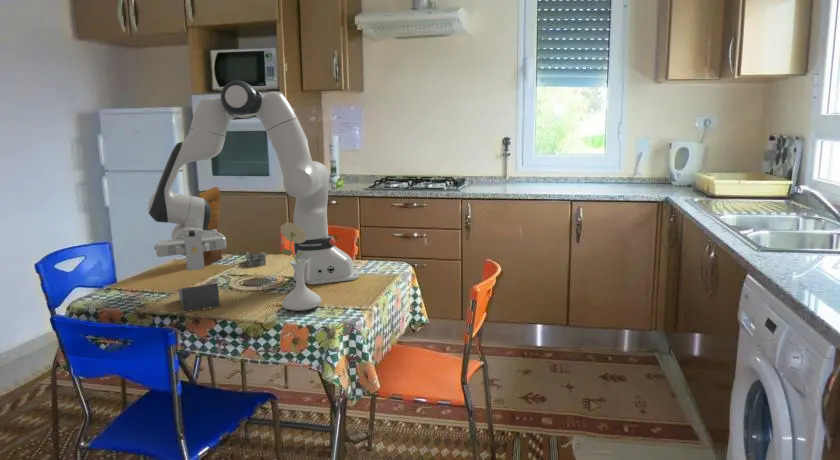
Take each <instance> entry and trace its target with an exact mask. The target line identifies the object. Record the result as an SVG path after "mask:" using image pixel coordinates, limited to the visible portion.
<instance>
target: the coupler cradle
mask: <svg viewBox="0 0 840 460" xmlns="http://www.w3.org/2000/svg"><path fill="white" fill-rule="evenodd" d="M178 296H179V299H178V300H179V302H180V301H181V302H180V304H182V305H181V308H182V307H183V308H182V311H183V310H184V311H190V310H197V309H203V308H209V307H216V308H218V307H217V306H220V307H221V303H220V294H219V284H218V283H211V284H205V285H197V286H190V287H184V288H183V287H182V288H180V289H178ZM209 309H210V308H209ZM203 310H204V309H203ZM184 311H183V312H184ZM197 311H198V310H197Z"/></svg>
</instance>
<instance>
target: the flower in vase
mask: <svg viewBox="0 0 840 460" xmlns="http://www.w3.org/2000/svg"><path fill="white" fill-rule="evenodd" d="M280 234H281V235H282V236H283V237H284V238H285V239H286V240H287V241H289V249H287V248H284V249H282V250H281V252H280V254H282V255H286V256H288V257H290V256H292V257H293V258H294V259H293V260H291V261H289V264H290V265H291V267H293V270H294V271H295V275H296V281H295V287H294V289H292V291H291V292H289V293H288V294H287V295H286V296H285V297H284V298H283V299H282V302H281V306H282V307H283V308H284V309H286V310H289V311H297V312H299V311H301V312H302V311H307V310H311V309H315V308H317V307H318V306H320V305H321V303H322V302H323V301H322V299H321V296H320V295H318V293H316V292H314V291H313V290H311V289H310V288H308V287H307V286H306V283H304V268H305V265H306V263H307V262H308V261H307V260H297V259H296V257H298V256H300V255H302V254H303V253H304V252H305V251H303V252H301V253H299V254H298V255H297V256H296V255H295V253H294V252H293V250H292V242H293V244H294V243H298V244H300V243H303V242H305V241H306V240H305V239H306V236H307V235H306V232H304V229H303V228H301V227H300V226H297V225H296V224H295V223H294V222H293V223H292V222H285V223H283V224H281V225H280Z"/></svg>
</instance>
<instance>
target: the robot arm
mask: <svg viewBox="0 0 840 460" xmlns="http://www.w3.org/2000/svg"><path fill="white" fill-rule="evenodd" d="M254 117H256V118H258V120H260V122H261V124H262V126H263V127H264V130H265V132H266V134H267V137H268V139H269V140H270V143H271V145H272V147H273V149H274V151H275V154H276V156H277V160H278V164H279V167H280V171H281V175H282V178H283V179H282V180H283V188H284V190H285V193H287V194H288V195H289V196H290V197H293V198H296V199H295V205H294V211H293V214H292V215H293V223H295V224H296V225H297V226H300V227H301V228H303V229H304V232H306V235H307V236H306V239H305V240H306V241H305V242H303V243H300V244H298V243H294V242H293V251H294V252H293V253H294V255H295V258H296V259H297V260H307V261H308V262H307V263H306V265H305V268H304V283H305V284H308V285H320V284H329V283H338V282H347V281H354V280H356V279H358V278H359V277H360V275H361V274H360V273H361V272H360V270H359V268H357V267H354V265H353V261H352V258H351V257H350V255H349V254H348V253H346V252H345V251H343V250H342V249H340V248H338V247H337V246H336V239H335V237H334V236H333V235H329V230H328V229H329V227H328V201H329V189H330V188H329V185H330V184H329V183H330V177H331V175H330V171H329V169H328V168H327V166H326V165H325V164H323V163H321V162H319V161H316V160H313V159H312V156H311V152H310V149H309V141H308V137H307V136H306V133H305V131H304V129H303V127H302V125H301V123H300V120H299V118H298V116H297V115H296V113H295V110H294V109H293V106H292V105H291V104H290V103H289V101H288V100H287V98H286V96H284V95H283V93H281V92H278V91H270V92H266V93H261V92H260V91H259V90H257V89H256V88H255V87H253V86H252V85H250V83H247V82H245V81H244V80H232V81H229V82H227V84H225V85H224V86H223V88H222V89H221V92H220V98H215V97H205V98H202V99H200V100H199V102H198V103H197V106H196V107H195V111H194V114H193V117H192V119H191V122H190V123H191V124H190V128H189V131H188V134H187V136H186V137H185V138H184V139H183V140H182V141H180V142H177V143H176V144H175V146H174V148H173V149H172V151H171V153H170V155H169V158H168V160H167V162H166V165H165V167H164V169H163V172H162V174H161V176H160V179H159V181H158V184H157V187H156V189H155V191H154V193H153V194H152V196H151V198H150V200H149V201H148V208H147V209H148V215H149V216H150V217H151V218H152V219H153V220H154V221H155V222H156V223H165V224H166V223H167V224H169V223H170V224H176V225H175V226H174V227H173V229H172V232H171V239H167V240H166V239H165V240H160V241H157V242H156V243H155V245H153V249H154V250H156V251H155V252H156V257H159V258H162V257H168V256H169V257H170V256H176V255H177V256H179V255H181V256H184V257H185V254H186V249H185V247H184V238H183V234H189V231H193V230H194V231H195V233H200V234H201V236H202V246H203V252H207V251H212V250H220V249H221V250H225V249H227V239H226V236H225V235H224V234H223V233H221V232H219V233H218V232H217V230H216V229H207V228H208V225H209V222H210V215H211V210H210V206H209V204H208V202H207V201H206V200H205V199H204V198H199V196H194V195H186V194H182V193H176V192H173V191H172V188H173V185H174V183H175V180H176V178H177V176H178V173H179V170H180V169H181V168H182V167H183V166H184V165H187V164H189V163H193V162H199V161H207V160H210V159H213V158H215V157H217V156H218V155H219V154H220V153H221V152H222V150H223V148H224V144H225V140H226V136H227V131H228V127H229V124H230V122H232V120H233V121H234V120H248V119H249V120H250V119H252V118H254ZM303 251H305V252H304V253H303V254H302V255H300V256H298V257H296V256H297V255H298V254H299V253H301V252H303ZM292 279H293V280H294V281H295V282H296V275H295V271H294V272H293V277H292Z"/></svg>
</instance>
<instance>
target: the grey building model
mask: <svg viewBox="0 0 840 460" xmlns="http://www.w3.org/2000/svg"><path fill="white" fill-rule="evenodd" d="M245 255H246V256H245V262H246V264H247V265H246V267H250V268H254V267H263V266H265V265H267V261H266V257H267V252H261V253H258V252H257V253H256V255H254V253H253V252H249V251H246V254H245Z"/></svg>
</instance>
